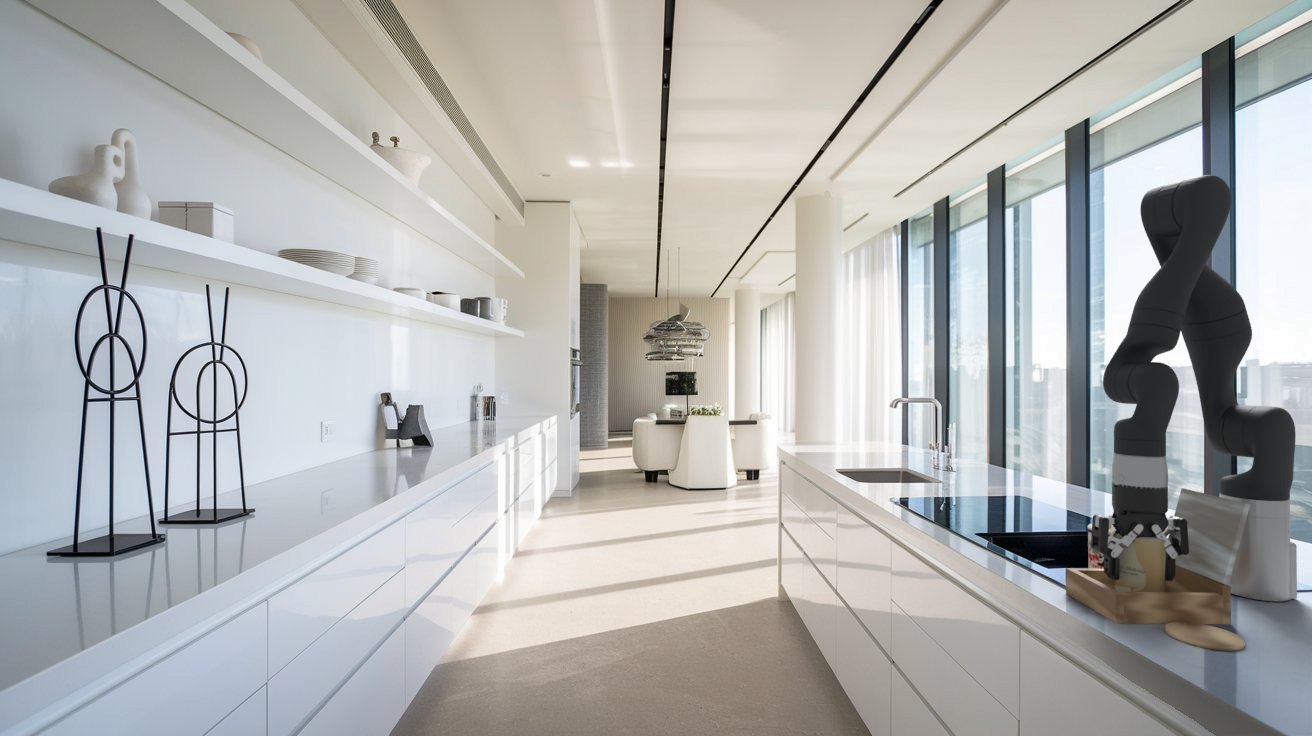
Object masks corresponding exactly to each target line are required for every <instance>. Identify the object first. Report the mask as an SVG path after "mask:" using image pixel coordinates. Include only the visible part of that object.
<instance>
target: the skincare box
mask: <svg viewBox="0 0 1312 736" xmlns="http://www.w3.org/2000/svg"><path fill="white" fill-rule="evenodd" d="M1116 538H1118V539H1122V538H1123V536H1122V535H1120V534H1119V533H1118V534H1116ZM1164 542H1165V541H1164V540H1163V539H1158V538H1155V537H1139V538H1135V539H1134V541H1133V542H1131V544H1130V545H1129V546H1128V547H1127V548H1124V549H1123V550H1122V552H1121V553H1120V554H1119V555H1118V557H1117V558H1120V578H1119V580H1115V590H1116V591H1118V592H1165V559H1166V552H1165V548H1164Z"/></svg>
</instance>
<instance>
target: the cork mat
mask: <svg viewBox="0 0 1312 736" xmlns="http://www.w3.org/2000/svg"><path fill="white" fill-rule="evenodd" d="M1164 631H1165V633H1166V634H1167V635H1168V636H1170V637H1171V638H1172V639H1173V638H1174V639H1175V640H1178V641H1179V642H1182V643H1185V644H1188V645H1192V646H1195V647H1198V648H1199V647H1200V648H1204V649H1209V650H1217V651H1224V652H1225V651H1229V652H1232V651H1241V650H1243V649H1244V648H1245V640H1244V639H1243V638H1242V637H1241V636H1240V635H1238V634H1236V633H1234V632H1231V631H1229V630H1226V629H1223V628H1219V627H1215V626H1213V625H1210V624H1198V623H1191V622H1171V623H1167V624H1165V625H1164Z"/></svg>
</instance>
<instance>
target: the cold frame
mask: <svg viewBox="0 0 1312 736" xmlns="http://www.w3.org/2000/svg"><path fill="white" fill-rule="evenodd" d="M1177 500H1178V501H1177V504H1176V509H1175V511H1174V515H1173V516H1176V517H1179V518H1183V519H1186V520H1187V527H1188V543H1189V553H1188V554H1187V555H1180V556H1178V557H1177V558H1176V560H1175V577H1173V580H1172V581H1166V580H1165V592H1118V591H1116V590H1115V580H1113V579H1111V578H1109V577H1107V574H1105V572H1104V569H1091V568H1082V567H1081V568H1080V567H1079V568H1077V567H1076V568H1075V567H1070V568H1068V567H1066V568H1065V593H1066V594H1067V595H1068V596H1069V597H1071V598H1073V599H1074V600H1076V601H1078V602H1080V603H1082V604H1083V605H1085V606H1086V607H1088V608H1090V609H1091V610H1094V611H1095V612H1096V613H1098V614H1100V615H1102V616H1103V617H1105V618H1107V619H1109V620H1110V621H1112V622H1114V623H1115V624H1165V625H1166V624H1167V623H1171V622H1191V623H1198V624H1204V625H1232V593H1231V586H1230V585H1227V584H1229V581H1230V577H1231V573H1232V570H1233V566H1234V562H1235V559H1236V555H1237V551H1238V548H1239V544H1240V540H1241V537H1242V533H1243V529H1244V525H1245V522H1246V518H1247V514H1248V511H1249V507H1250V504H1247V503H1243V502H1238V501H1234V500H1230V499H1226V498H1221V497H1219V496H1216V495H1213V494H1209V493H1204V492H1201V491H1196V490H1191V489H1187V488H1183V487H1181V489H1180V492H1179V497H1178V499H1177ZM1163 533H1164V535H1165V536H1166V537H1167V539H1168V540H1169V541H1170V530H1169V529H1168V527H1167V528H1166V529H1165V531H1164V532H1163Z"/></svg>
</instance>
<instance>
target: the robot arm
mask: <svg viewBox="0 0 1312 736" xmlns="http://www.w3.org/2000/svg"><path fill="white" fill-rule="evenodd" d="M1231 206H1232V193H1231V190H1230V187H1229V185H1228V183H1227V182H1226V181H1225V179H1223V178H1222V177H1220V176H1217V175H1213V174H1205V175H1199V176H1194V177H1189V178H1187V179H1182V180H1179V181H1174V182H1171V183H1170V182H1169V183H1166V184H1161V185H1159V186H1158V185H1157V186H1155V187H1152V188H1151V189H1149V190H1148V191H1146V193H1145V194H1144V195H1143V197H1142V199H1141V202H1140V216H1141V217H1140V218H1141V222H1142V226H1143V229H1144V232H1145V234H1146V236H1147V238H1148V241H1149V242H1150V246H1151V247H1152V250H1153V252H1154V254H1155V256H1156V260H1157V261H1158V263H1159V266H1160V268H1159V269H1158V270H1157V272H1155V274H1154V275H1152V277H1151V278H1150V279H1149V280H1148V282H1147V283H1146V284H1145V285H1144V287H1143V288H1142V290H1141V291H1140V293H1139V294H1138V297H1137V298H1136V301H1135V303H1134V306H1133V310H1132V313H1131V317H1130V321H1129V323H1128V328H1127V332H1126V335H1125V336H1124V338H1123V340H1122V341H1121V342H1120V344H1119V345H1118V347H1117V349H1116V351H1115V352H1114V354H1113V355H1112V357H1111V359H1110V360H1109V361H1108V364H1107V366H1106V368H1105V371H1104V373H1103V377H1102V386H1103V387H1102V388H1103V390H1104V393H1105V394H1106V396H1107V397H1108V398H1109V399H1110V400H1111V401H1113V402H1115V403H1119V404H1126V405H1127V404H1129V405H1135V408H1134V412H1133V414H1132V416H1131V417H1129V418H1128V417H1126V418H1123V419H1119V420H1117V421H1116V422H1115V424H1114V428H1113V458H1112V462H1111V506H1112V510H1113V512H1112V514H1113V515H1112V517H1108V516H1103V515H1100V514H1094V515H1093V516H1092V520H1091V522H1092V536H1091V548H1092V549H1093V550H1096V551H1098V552H1100V553H1103V555H1104V572H1105V574H1107V577H1109V578H1111V579H1113V580H1119V578H1120V558H1117V557H1118V555H1119V554H1120V553H1121V552H1122V550H1123V549H1124V548H1127V547H1128V546H1129V545H1130V544H1131V542H1133V541H1134V539H1135V538H1139V537H1155V538H1158V539H1163V540H1164V541H1165V542H1164V548H1165V552H1166V559H1165V580H1166V581H1172V580H1173V577H1175V560H1176V558H1177V557H1178V556H1180V555H1187V554H1188V553H1189V543H1188V527H1187V520H1186V519H1183V518H1179V517H1176V516H1174V515H1169V517H1167V515H1166V513H1167V512H1168V511H1169V471H1168V470H1169V469H1168V464H1167V463H1168V462H1167V430H1168V427H1169V424H1170V422H1171V419H1172V416H1173V413H1174V410H1175V407H1176V404H1177V400H1178V397H1179V393H1180V382H1179V378H1178V376H1177V374H1176V372H1175V371H1174V369H1173V368H1172V367H1171V366H1169V365H1168V364H1166V363H1165V362H1157V361H1153V360H1154V359H1155V358H1156V357H1157V356H1158V355H1162V354H1165V353H1167V352H1170V351H1173V350H1174V349H1175V348H1176V347H1177V345H1178V342H1179V339H1180V335H1182V339H1183V341H1184V344H1185V347H1186V350H1187V353H1188V356H1189V359H1190V363H1191V367H1192V370H1193V374H1194V377H1195V381H1196V385H1197V389H1198V390H1197V391H1198V395H1199V401H1200V407H1201V414H1202V418H1203V425H1204V429H1205V432H1206V437H1207V439H1208V442H1209V443H1210V446H1212V448H1213V450H1215V451H1216V452H1218V453H1220V454H1222V455H1227V456H1235V457H1245V458H1253V461H1252V464H1251V468H1250V469H1248V470H1247V471H1245V472H1242V473H1236V474H1231V475H1225V476H1223V477H1221V478H1220V479H1219V484H1218V485H1219V487H1218V488H1219V490H1218V491H1219V496H1218V497H1221V498H1226V499H1230V500H1234V501H1238V502H1243V503H1247V504H1250V507H1249V511H1248V514H1247V518H1246V522H1245V525H1244V529H1243V533H1242V537H1241V540H1240V544H1239V548H1238V551H1237V555H1236V559H1235V562H1234V566H1233V570H1232V573H1231V577H1230V581H1229V584H1227V585H1230V586H1231V595H1232V594H1233V595H1236V596H1239V597H1243V598H1247V599H1253V600H1258V601H1268V602H1287V601H1290V600H1292V599H1293V600H1294V599H1295V600H1296V599H1298V574H1297V572H1298V562H1297V561H1298V560H1297V559H1298V558H1297V557H1298V556H1297V555H1298V552H1297V544H1296V543H1295V542H1293V541H1291V488H1292V485H1293V481H1294V467H1295V451H1296V434H1297V433H1296V425H1295V422H1294V419H1293V417H1292V415H1291V414H1290V412H1289V411H1287V410H1286V409H1284V408H1283V407H1277V406H1269V405H1268V406H1266V405H1265V406H1264V405H1247V404H1244V405H1243V404H1239V403H1238V401H1237V398H1236V394H1235V389H1234V379H1235V374H1236V371H1237V370H1238V368H1239V366H1240V364H1241V362H1242V361H1243V359H1244V357H1245V355H1246V353H1247V351H1248V349H1249V347H1250V344H1251V341H1252V338H1253V330H1252V324H1251V322H1250V321H1251V320H1250V318H1249V314H1248V310H1247V308H1246V304H1245V301H1244V299H1243V297H1242V295H1241V294H1240V293H1239V291H1238V290H1236V289H1235V287H1234V286H1232V284H1230V282H1229V281H1227V280H1226V279H1225V278H1223V277H1222V276H1221V275H1220V274H1219V273H1217V272H1216V270H1215V269H1213V268H1212V267H1211V266H1209V265H1208V264H1207V262H1208V260H1209V258H1210V256H1211V255H1212V252H1213V249H1214V247H1215V246H1216V244H1217V241H1218V239H1219V237H1220V236H1221V233H1222V231H1223V229H1224V227H1225V225H1226V222H1227V220H1228V218H1229V214H1230V211H1231ZM1111 525H1113V526H1114V528H1115V530H1114V531H1113V532H1112V533H1111V535H1110V536H1109V537H1108V533H1109V529H1111ZM1167 527H1168V529H1169V530H1170V541H1169V540H1168V536H1167V537H1166V536H1165V535H1164V533H1163V532H1164V531H1165V529H1166V528H1167ZM1118 533H1119V534H1120V535H1122V536H1123V538H1122V539H1118V538H1116V534H1118Z"/></svg>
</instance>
